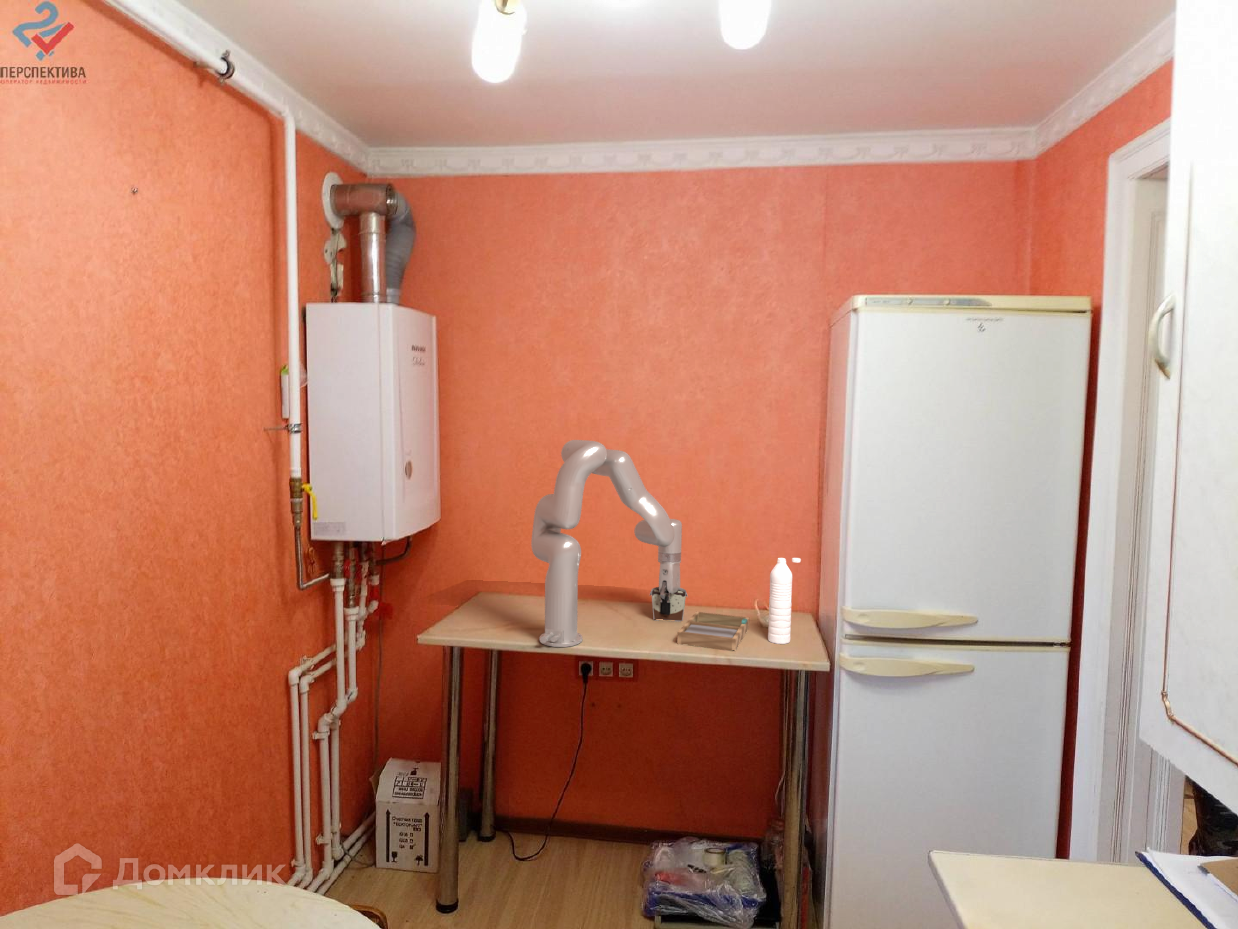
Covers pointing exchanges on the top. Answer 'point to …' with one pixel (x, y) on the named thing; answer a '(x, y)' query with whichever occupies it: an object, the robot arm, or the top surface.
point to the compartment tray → (714, 631)
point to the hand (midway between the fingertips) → (668, 611)
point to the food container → (676, 604)
